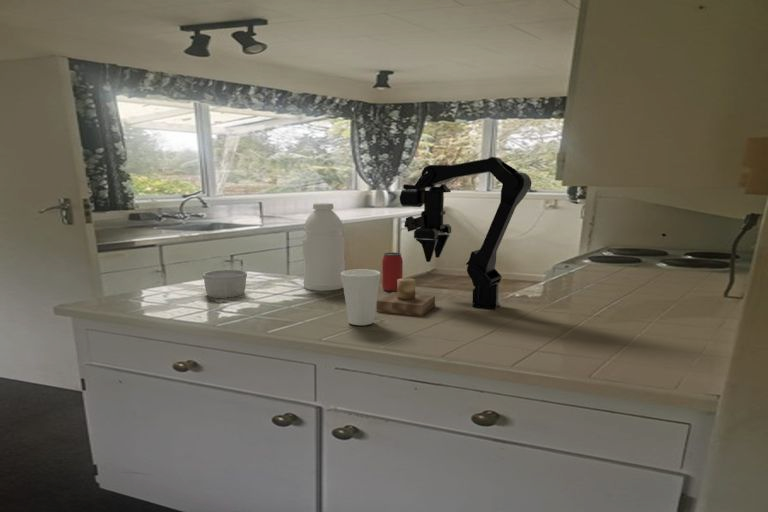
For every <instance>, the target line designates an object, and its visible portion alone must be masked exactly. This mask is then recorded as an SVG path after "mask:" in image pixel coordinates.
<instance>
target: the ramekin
mask: <svg viewBox="0 0 768 512" xmlns="http://www.w3.org/2000/svg"><path fill="white" fill-rule="evenodd" d="M247 273H248V272H247V271H246V270H242V269H241V270H240V269H219V270H218V269H216V270H210V271H206V272H204V273H203V274H202V278H203V281H204V288H205V292H206V294H207V296H208V297H209V298H213V299H228V298H227V297H232V298H235V297H234V296H237V297H240V296H239V295H241V296H243V294H244V293H245V290H246V285H247V277H248V274H247Z"/></svg>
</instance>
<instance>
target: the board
mask: <svg viewBox="0 0 768 512" xmlns="http://www.w3.org/2000/svg"><path fill="white" fill-rule="evenodd" d="M435 307H436V296H435V295H428V294H417V293H415V299H414V300H399V299H397V291H393V292H389V294H386V295H385V296H383V297H381V298H379V299H377V301H376V312H378V313H379V312H380V313H389V314H399V315H408V316H417V317H423V316H424V315H425V314H426V313H428V312H429V311H431V309H433V308H435Z"/></svg>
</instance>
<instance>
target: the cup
mask: <svg viewBox="0 0 768 512" xmlns="http://www.w3.org/2000/svg"><path fill="white" fill-rule="evenodd" d="M381 273H382V272H380V271H379V270H376V269H366V268H360V269H359V268H357V269H347V270H345V271H343V272H341V279H342V282H343V288H342V289H343V294H344V301H345V305H346V312H347V319H348V323H349V324H351V325H354V326H368V325H371V324H373V323H374V321H375V315H376V309H377V300H378V293H379V288H380V287H379V286H380V282H381V278H382V277H381V275H382V274H381Z"/></svg>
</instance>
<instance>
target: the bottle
mask: <svg viewBox="0 0 768 512" xmlns="http://www.w3.org/2000/svg"><path fill="white" fill-rule="evenodd" d="M312 204H313V205H312V209H313V211H312V212H311V214H309V216H308V217H307V218H306V221H305V223H304V224H303V225H304V226H303V231H305V233H306V234H305V236H304V237H303V238H302V252H303V253H302V254H303V256H302V257H303V260H302V261H303V288H304V289H306V290H309V291H316V292H320V291H321V292H325V291H326V292H327V291H338V290H341V289H344V288H343V282H342V279H341V272H343V271H346V270H345V269H346V267H345V265H346V263H345V259H346V258H345V257H346V256H345V243H346V239H345V237H344V236H343V235H342V233H341V232H342V231H344V230H345V229H344V225H343V222H342V221H341V219H340V217H339V216H338V215H337V214H336V212H335V211H333V209H334V204H333V203H330V202H329V203H328V202H321V203H319V202H318V203H312Z"/></svg>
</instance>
